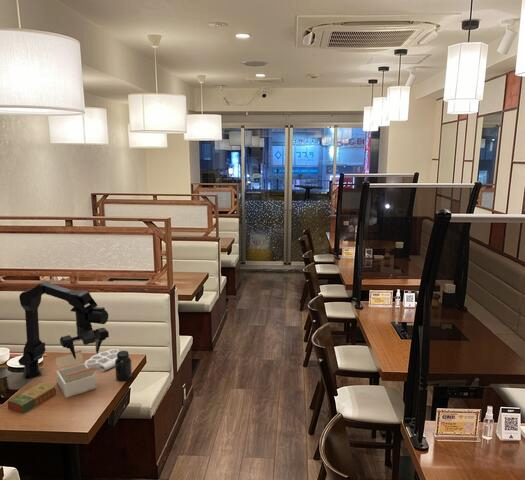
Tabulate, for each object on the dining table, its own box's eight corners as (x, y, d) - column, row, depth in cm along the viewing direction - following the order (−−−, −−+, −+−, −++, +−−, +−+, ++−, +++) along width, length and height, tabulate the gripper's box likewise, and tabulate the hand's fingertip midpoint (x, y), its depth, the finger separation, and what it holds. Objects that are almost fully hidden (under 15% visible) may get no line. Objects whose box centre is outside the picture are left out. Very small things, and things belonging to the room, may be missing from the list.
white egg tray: (99, 375, 211) (78, 367, 219) (130, 360, 226) (110, 352, 233) (99, 368, 210) (78, 360, 218) (130, 353, 225) (109, 346, 233)
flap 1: (81, 350, 209) (81, 350, 210) (54, 356, 203) (54, 356, 203) (83, 361, 208) (83, 361, 208) (57, 368, 202) (57, 368, 202)
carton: (56, 395, 195) (55, 385, 194) (22, 415, 180) (21, 405, 180) (42, 390, 198) (41, 381, 197) (7, 409, 184) (6, 399, 183)
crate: (57, 383, 203) (56, 370, 202) (85, 375, 210) (84, 363, 209) (65, 397, 192) (64, 384, 191) (95, 388, 199) (94, 375, 198)
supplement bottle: (112, 380, 206) (110, 354, 204) (122, 373, 212) (121, 348, 210) (125, 383, 204) (123, 357, 201) (135, 376, 210) (133, 351, 207)
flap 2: (66, 373, 188) (66, 375, 188) (94, 366, 194) (94, 367, 194) (65, 381, 191) (65, 382, 191) (93, 373, 198) (93, 374, 197)
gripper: (65, 332, 186) (68, 369, 190) (112, 322, 197) (114, 357, 200) (58, 324, 195) (61, 359, 198) (103, 314, 206) (105, 347, 209)
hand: (86, 355), depth 201 cm, fingers open, 9 cm apart
